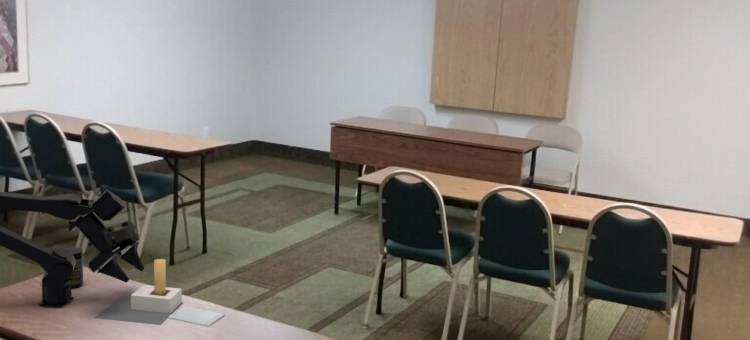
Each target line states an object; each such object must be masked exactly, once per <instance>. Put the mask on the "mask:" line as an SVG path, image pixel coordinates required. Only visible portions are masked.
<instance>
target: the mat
mask: <svg viewBox="0 0 750 340" xmlns="http://www.w3.org/2000/svg"><path fill="white" fill-rule="evenodd" d="M183 304H184V302H182V303H181V304H180V305H179V306H178V307H177V308H175V309H174V310H173V311H172V312H171V313H161V312H151V311H141V310H132V309H131V296H123V295H122V296H120V297H119V298H118V299H116V300H115V301H114V302H113V303H111V304H110V305H109V306H107V307H106V308H104V309H103V310H102V311H101V312H100V313H98V314H97V315H96V316H94V319H100V320H109V321H110V320H111V321H119V322H120V321H121V322H129V323H135V324H136V323H137V324H147V325H156V326H157V325H158V326H161V325H162V324H163V323H164V322H166V320H167V319H169V318H168V316H170V315H171V314H173V313H175V312H176V311H178V310H179V309H180V307H181V306H182V305H183Z"/></svg>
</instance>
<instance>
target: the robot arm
mask: <svg viewBox="0 0 750 340" xmlns="http://www.w3.org/2000/svg"><path fill="white" fill-rule="evenodd" d="M126 208H127V205H126V204H125V202H124V201H123V199H121V198H120V196H119V195H116V194H115V193H113V192H111V191H110V190H109V189H106V190H104V192H103V193H102V194H101V195H100V196H99V197H98V198H97V199H95V200H93V199H87V198H83V197H82V198H81V197H80V196H79V195H77V194H75V193H63V194H62V193H61V194H55V195H47V196H46V195H45V196H44V195H35V194H27V193H26V194H25V193H18V192H17V193H16V192H6V191H0V209H1V210H2V209H3V210H13V211H21V212H22V211H25V212H33V213H42V214H43V213H44V214H47V215H50V216H52V217H54V218H59V219H62V220H66V221H68V223H69V224H68V230H67V231H69V232H73V231H75V230H79V231H80V233H81V234H82V235H83V236H84V237H85V239H87V240H88V241H89V242H88V243H87V245H88V247H89V248H91V247H94V248H95V249H96V250H97V252H99V253H98V254H96V255H95V256H94V257H93V258H92V259H91V260H90V261H89V262H88V269H89V270H90V271H91V272H92V273H93V274H94V273H95V272H97V274H103V275H106V276H108V277H111V278H114V279H116V280H119V281H122V282H124V283H128V282H129V281H130V279H129V277H128V275H127V274H126V272H125V271H124V270H123V269H122V267H121V266H120V265H119V264H118V255H119V256H120V259H121V260H123V261H125V262H126V263H127V264H129V265H130V266H132V267H134V269H137V270H139V271H140V272H143V271H144V270H145V266H144V265H143V262H142V260H141V258H140V255H139V252H138V246H139V240H140V237H138V236H137V233H136V228H137V226H136V225H135V224H134V223H133V222H131V221H130V220H126V221H124V222H122V223H121V226H120V227H118V228H116V229H115V228H114V227H112V226H109V227H107V225H106V224H104V223H103V222H106V221H108V222H111V221H112V220H113V219H114V218H116V217H117V215H119V214H120V213H121V212H122V211H124V209H126ZM0 247H3V248H5V249H7V250H9V251H11V252H14V253H16V254H17V255H19V256H22V257H24V258H27V259H28V260H30V261H32V262H35V263H37V264H38V266H40V268H41V269H42V270H43V271H44V273H43V276H42V278H41V294H42V295H41V296H42V299H41V301H40V302H39V303H38V306H43V307H51V308H63V307H64V306H66V305H67V304H68V303H70V302H72V301H73V300H74V297H73V296H72V289H71V286H70V280H67V279H66V278H68V277H69V276H70V275H71V274H72V272H73V270H74V267H75V264H76V260H75V257H74V255H73V254H71V253H70V250H66V249H64V248H65V247H62V246H61V245H59V244H58V243H57V244H55V245H54V247H46V246H43V245H42V244H39V243H38V242H35V241H33V240H31V239H28V238H26V237H24V236H22V235H20V234H18V233H16V232H14V231H12V230H10V229H8V228H6V227H4V226H1V225H0Z"/></svg>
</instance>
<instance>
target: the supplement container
mask: <svg viewBox="0 0 750 340" xmlns="http://www.w3.org/2000/svg"><path fill="white" fill-rule="evenodd" d="M63 248H64V249H66V250H70V253H71V254H73V255H74V257H75V260H76V264H75V267H74V270H73V272H72V274H71V275H70V276H69V277H68V278H66V279H67V280H70V286H71V290H72V289H77V288H79V287H81V286H82V285H84V281H85V280H84V250H83V248H81V247H75V246H72V247H70V246H69V247H63Z"/></svg>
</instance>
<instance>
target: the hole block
mask: <svg viewBox="0 0 750 340" xmlns="http://www.w3.org/2000/svg"><path fill="white" fill-rule="evenodd" d="M182 295H183V289H182V288H180V287H179V288H178V287H169V286H166V296H158V295H154V285H148V284H143V285H141V286H140V287H139V288H138V289H136V290H135V291H134V292H133V293H132V294H131V295H130V297H131V309H132V310H141V311H151V312H161V313H171V312H172V311H173V310H174V309H175V308H177V307H178V306H179V305H180V304H181V303H182V301H183V298H182Z"/></svg>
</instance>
